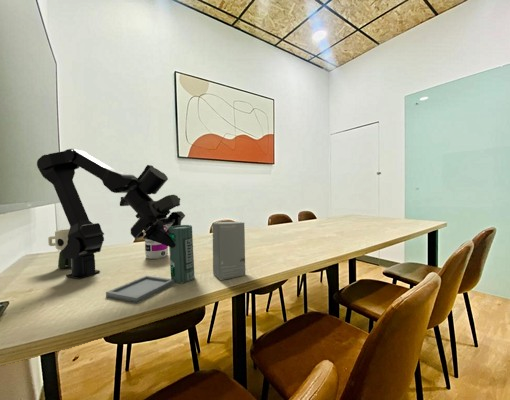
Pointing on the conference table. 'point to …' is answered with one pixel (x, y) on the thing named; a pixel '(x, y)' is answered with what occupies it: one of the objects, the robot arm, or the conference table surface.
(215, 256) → the skincare box
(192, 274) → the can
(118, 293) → the tray
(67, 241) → the character mug
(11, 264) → the conference table surface
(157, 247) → the supplement can
